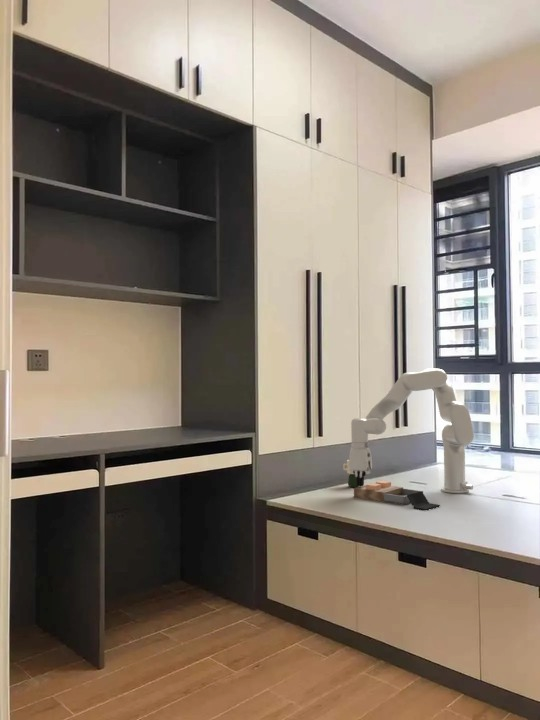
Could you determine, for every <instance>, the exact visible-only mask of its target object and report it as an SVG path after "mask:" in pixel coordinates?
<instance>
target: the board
mask: <svg viewBox="0 0 540 720" xmlns="http://www.w3.org/2000/svg"><path fill="white" fill-rule="evenodd" d="M375 484H376V482H375ZM403 488H404V487H403V486H398V485H397V486H396V485H391V486H390V487H387V488H382V487H381V489H379V490H369V489H366V484H364V485H363V486H358V487H353V498H357V497H359V499H364V498H365V500H370V499H371V501H376V500H378V501H377V502H382V501H384V494H392V495H398V496H400V495H403V492H402V489H403Z"/></svg>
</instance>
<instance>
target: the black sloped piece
mask: <svg viewBox="0 0 540 720" xmlns="http://www.w3.org/2000/svg"><path fill="white" fill-rule="evenodd" d="M420 491H421V492H417V493H413V494H409V495H407V497H408V499H409V500H410V502H411V503H410V504H411V505H412V507H413V508H414V509H413V510H418V509H419V510H420V511H423V510H427V511H430V510H429V509H431V510H433V508H434V509H437V508H436V507H438V508H440V507H441V505H440V504H436V503H430V501H429V500H428V499H427V497H426V496H425V494H424V491H423V490H420ZM422 491H423V492H422ZM439 506H440V507H439Z"/></svg>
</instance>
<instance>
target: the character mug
mask: <svg viewBox="0 0 540 720" xmlns="http://www.w3.org/2000/svg"><path fill="white" fill-rule="evenodd" d="M342 467H343V471H346V473H347V474H348V481H347V485H348V487H350V488H356V487H359V486H357V477H355V474H354V473H353V472H350V468H349V459H347V460H346V463H343V465H342Z"/></svg>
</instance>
